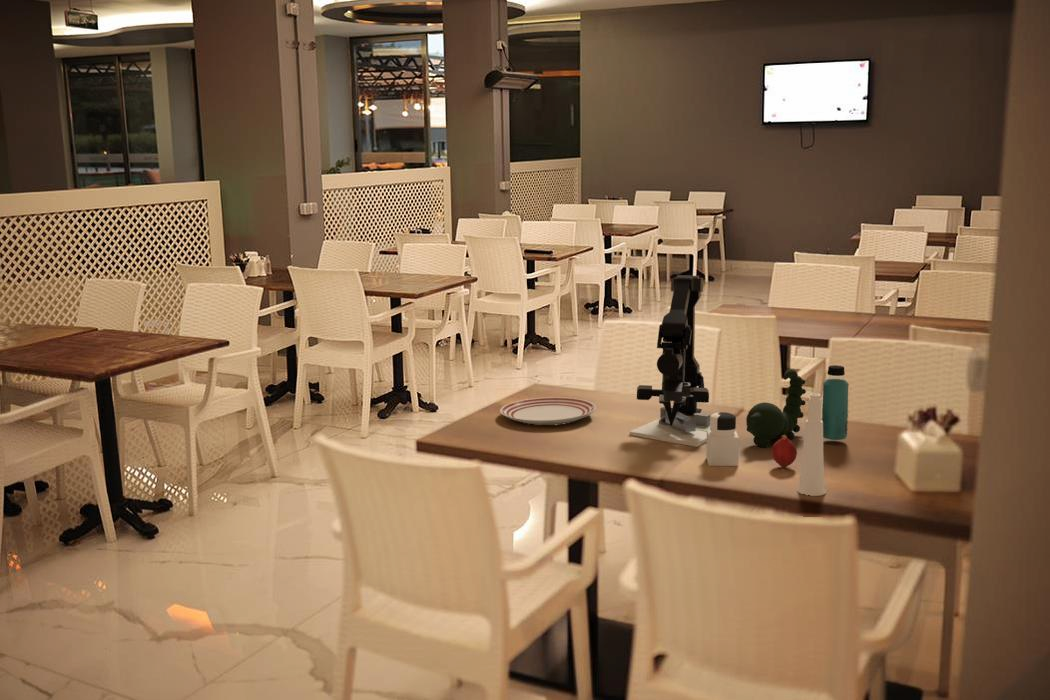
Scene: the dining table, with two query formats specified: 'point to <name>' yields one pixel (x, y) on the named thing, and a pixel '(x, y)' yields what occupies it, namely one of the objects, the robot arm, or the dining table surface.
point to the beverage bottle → (835, 405)
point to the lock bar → (679, 421)
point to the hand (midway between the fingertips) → (671, 425)
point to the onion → (784, 452)
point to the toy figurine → (777, 414)
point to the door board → (676, 431)
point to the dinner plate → (548, 410)
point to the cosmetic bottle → (813, 451)
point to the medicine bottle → (722, 440)
